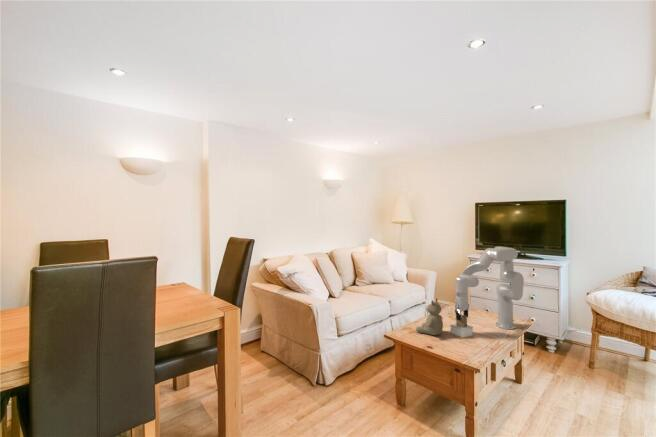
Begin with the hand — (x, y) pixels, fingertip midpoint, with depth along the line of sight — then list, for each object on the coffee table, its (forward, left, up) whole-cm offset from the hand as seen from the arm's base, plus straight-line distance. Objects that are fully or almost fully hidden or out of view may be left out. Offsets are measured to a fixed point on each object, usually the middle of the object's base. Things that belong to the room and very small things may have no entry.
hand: (462, 318), depth 211 cm
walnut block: (0, 0, -5) cm, 5 cm away
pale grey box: (+1, 0, -11) cm, 11 cm away
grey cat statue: (+17, -15, -11) cm, 25 cm away
